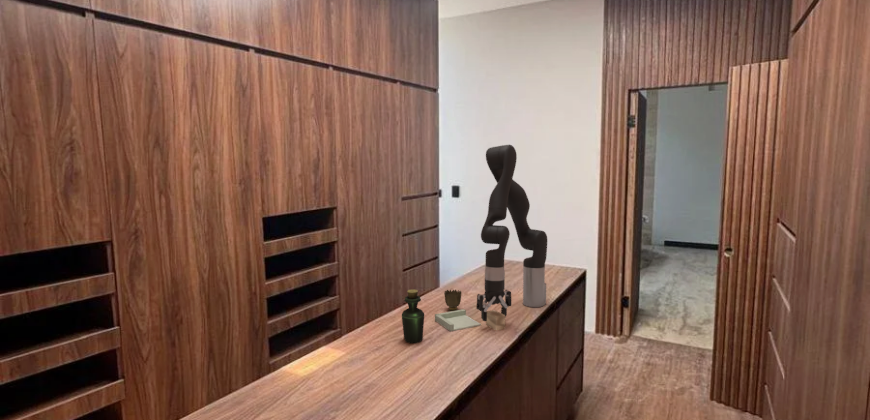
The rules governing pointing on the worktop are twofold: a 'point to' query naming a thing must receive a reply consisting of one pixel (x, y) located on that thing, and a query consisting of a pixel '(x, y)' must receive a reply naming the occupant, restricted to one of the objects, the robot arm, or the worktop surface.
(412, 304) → the potion bottle
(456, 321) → the corner tray
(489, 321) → the maple brick
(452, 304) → the cup
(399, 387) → the worktop surface
